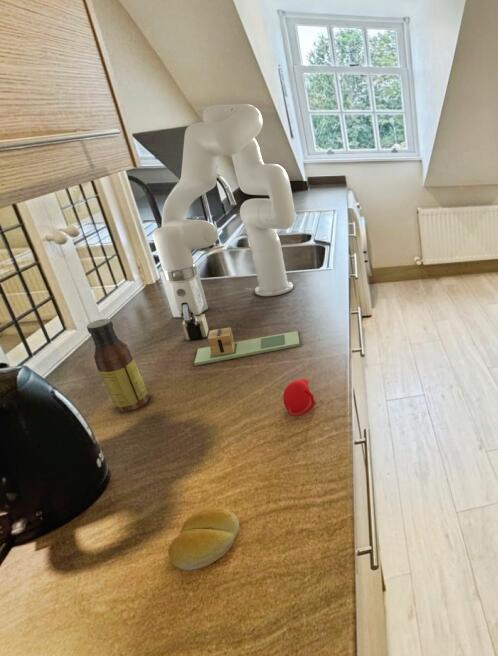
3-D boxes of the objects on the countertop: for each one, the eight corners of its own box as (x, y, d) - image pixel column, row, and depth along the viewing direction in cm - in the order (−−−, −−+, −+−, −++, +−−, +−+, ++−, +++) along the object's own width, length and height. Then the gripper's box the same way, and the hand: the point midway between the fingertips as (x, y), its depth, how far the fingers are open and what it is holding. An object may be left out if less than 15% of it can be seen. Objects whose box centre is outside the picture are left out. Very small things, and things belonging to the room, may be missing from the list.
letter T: (189, 332, 129) (184, 316, 127) (208, 329, 131) (204, 313, 129) (186, 340, 125) (181, 323, 123) (206, 337, 126) (202, 320, 124)
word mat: (198, 351, 119) (198, 348, 118) (297, 333, 126) (297, 330, 126) (194, 365, 112) (193, 362, 111) (299, 346, 119) (299, 343, 119)
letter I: (214, 347, 118) (209, 330, 116) (234, 344, 120) (230, 326, 118) (212, 356, 114) (207, 338, 112) (233, 352, 115) (229, 334, 113)
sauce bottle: (140, 393, 101) (111, 312, 93) (155, 401, 98) (127, 318, 90) (108, 409, 96) (74, 325, 88) (123, 417, 93) (90, 331, 85)
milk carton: (208, 308, 145) (193, 251, 137) (194, 318, 138) (178, 258, 131) (187, 308, 146) (171, 251, 138) (173, 317, 139) (155, 258, 132)
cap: (316, 417, 91) (312, 392, 89) (285, 423, 90) (280, 398, 87) (315, 395, 98) (311, 371, 96) (287, 400, 97) (281, 376, 94)
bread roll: (160, 574, 61) (151, 553, 59) (196, 518, 69) (189, 499, 67) (220, 574, 60) (212, 553, 59) (249, 518, 69) (243, 498, 67)
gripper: (191, 281, 114) (209, 344, 121) (200, 262, 129) (215, 319, 136) (157, 285, 112) (177, 350, 119) (170, 266, 127) (187, 324, 134)
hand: (197, 333), depth 127 cm, fingers closed on letter T, 5 cm apart
